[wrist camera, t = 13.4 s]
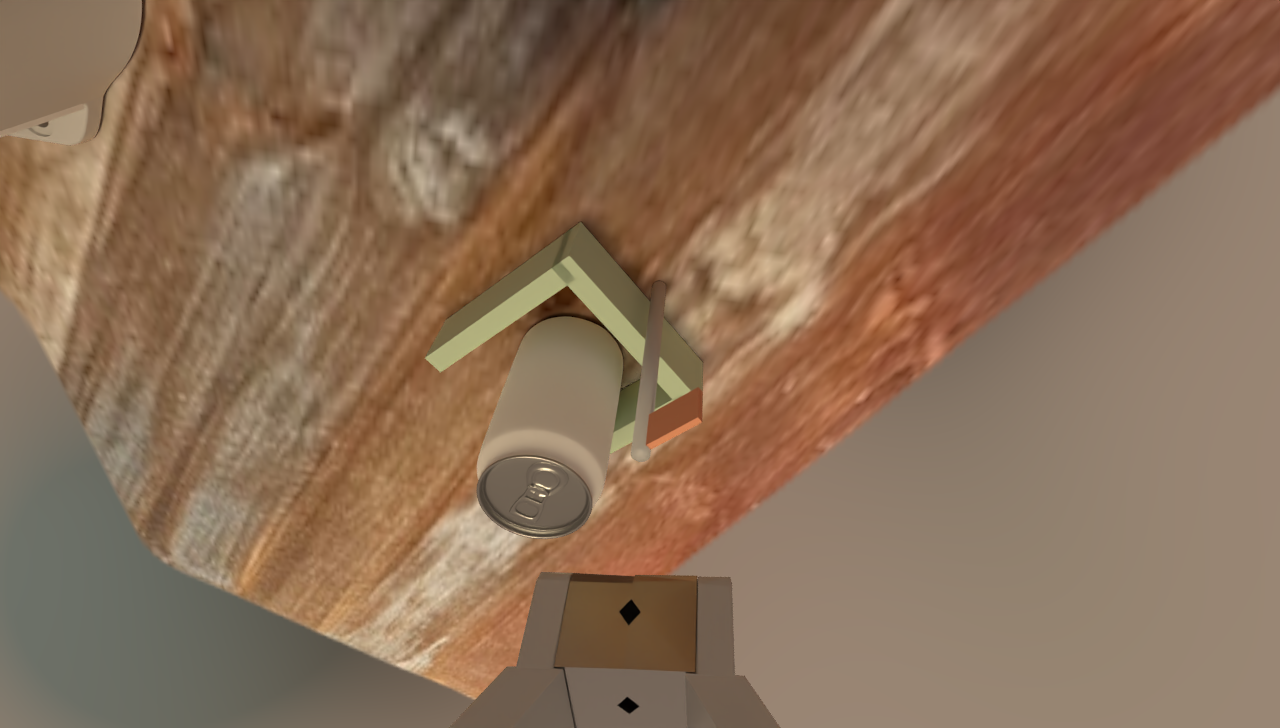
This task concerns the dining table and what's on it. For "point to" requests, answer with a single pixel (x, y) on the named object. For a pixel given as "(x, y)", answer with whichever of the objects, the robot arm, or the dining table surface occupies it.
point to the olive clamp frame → (580, 262)
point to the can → (552, 430)
